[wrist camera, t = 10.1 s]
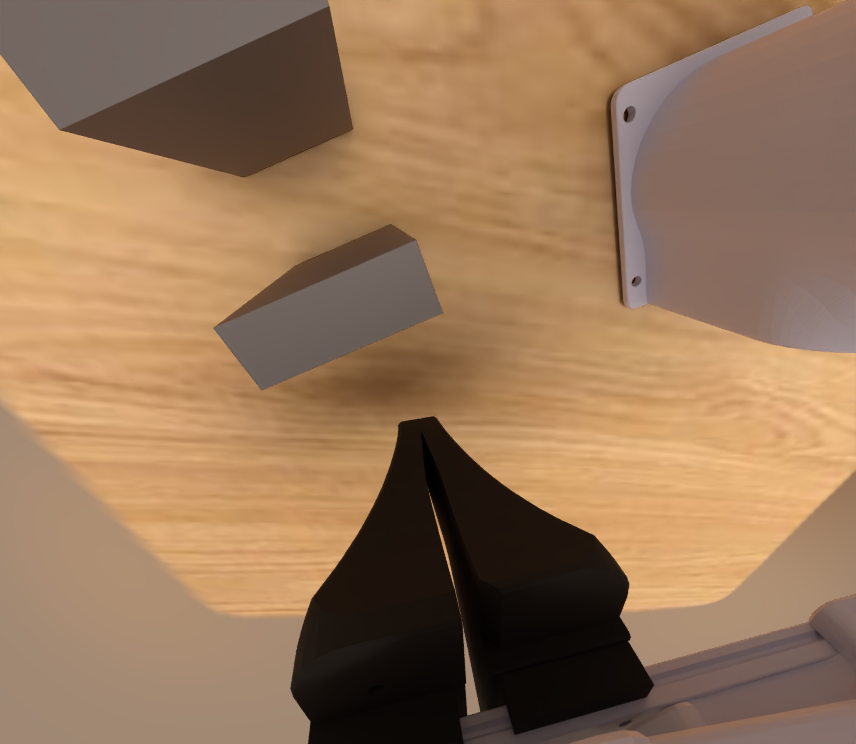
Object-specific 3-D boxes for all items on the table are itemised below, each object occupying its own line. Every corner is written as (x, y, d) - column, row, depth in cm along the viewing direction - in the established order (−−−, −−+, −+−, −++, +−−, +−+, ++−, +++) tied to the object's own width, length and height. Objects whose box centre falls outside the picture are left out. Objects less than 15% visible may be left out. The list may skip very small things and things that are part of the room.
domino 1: (352, 128, 12) (329, 5, 5) (244, 177, 12) (59, 129, 5) (330, 73, 11) (262, -175, 4) (215, 126, 11) (-59, -21, 4)
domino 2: (405, 261, 14) (443, 312, 7) (315, 300, 14) (261, 390, 7) (390, 224, 13) (415, 239, 6) (294, 266, 13) (213, 327, 6)
